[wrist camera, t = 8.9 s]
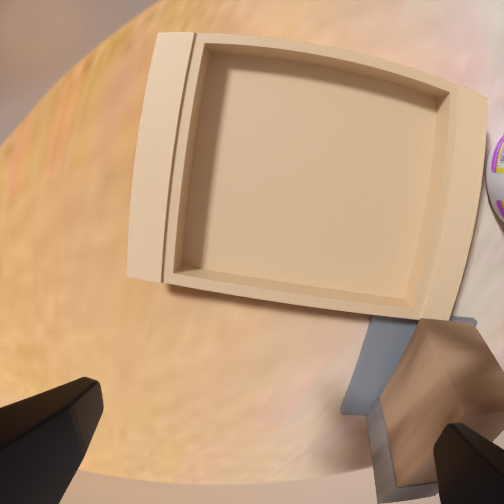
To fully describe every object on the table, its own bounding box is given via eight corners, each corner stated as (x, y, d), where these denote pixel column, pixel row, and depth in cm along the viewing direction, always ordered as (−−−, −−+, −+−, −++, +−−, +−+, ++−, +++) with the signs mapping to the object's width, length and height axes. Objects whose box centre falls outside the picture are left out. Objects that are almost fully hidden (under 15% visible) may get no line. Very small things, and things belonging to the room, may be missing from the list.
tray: (467, 104, 15) (487, 97, 13) (431, 308, 18) (447, 323, 16) (171, 47, 16) (158, 32, 13) (142, 265, 19) (126, 276, 16)
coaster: (473, 318, 18) (477, 321, 17) (433, 409, 20) (436, 414, 19) (374, 307, 18) (376, 311, 18) (340, 409, 20) (341, 414, 20)
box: (473, 322, 16) (524, 408, 9) (415, 417, 19) (434, 495, 13) (418, 317, 16) (464, 417, 9) (365, 417, 20) (377, 503, 13)
